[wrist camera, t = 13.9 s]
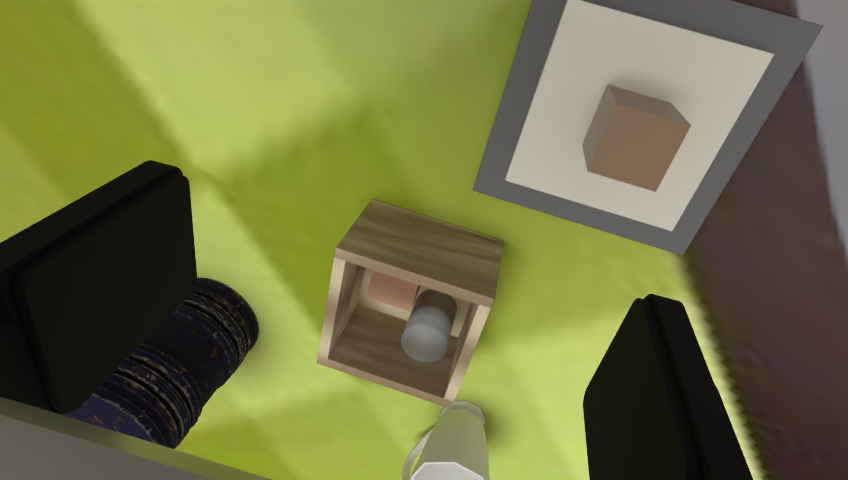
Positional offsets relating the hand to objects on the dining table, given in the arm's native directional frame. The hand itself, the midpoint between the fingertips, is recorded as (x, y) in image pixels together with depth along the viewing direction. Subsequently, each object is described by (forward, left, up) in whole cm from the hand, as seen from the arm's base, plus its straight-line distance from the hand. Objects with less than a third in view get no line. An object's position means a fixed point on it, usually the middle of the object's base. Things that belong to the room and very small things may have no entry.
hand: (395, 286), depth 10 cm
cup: (+34, +6, -27) cm, 44 cm away
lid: (+1, +9, -26) cm, 28 cm away
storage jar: (+31, -20, -27) cm, 46 cm away
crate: (+18, -1, -27) cm, 32 cm away
